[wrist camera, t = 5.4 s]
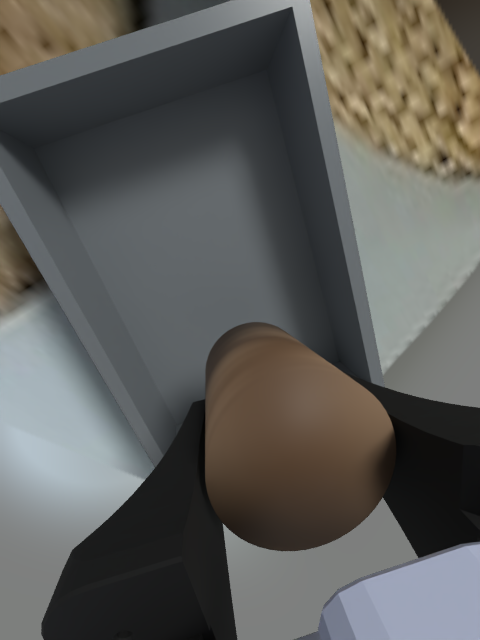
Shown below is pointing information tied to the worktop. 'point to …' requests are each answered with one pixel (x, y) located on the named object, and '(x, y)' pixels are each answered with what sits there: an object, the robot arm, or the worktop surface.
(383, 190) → the worktop surface
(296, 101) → the tote
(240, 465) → the brown potato
